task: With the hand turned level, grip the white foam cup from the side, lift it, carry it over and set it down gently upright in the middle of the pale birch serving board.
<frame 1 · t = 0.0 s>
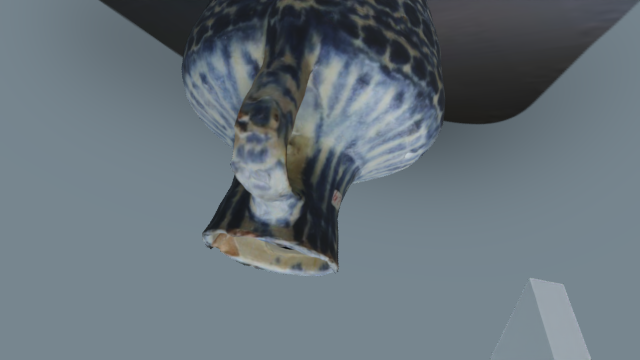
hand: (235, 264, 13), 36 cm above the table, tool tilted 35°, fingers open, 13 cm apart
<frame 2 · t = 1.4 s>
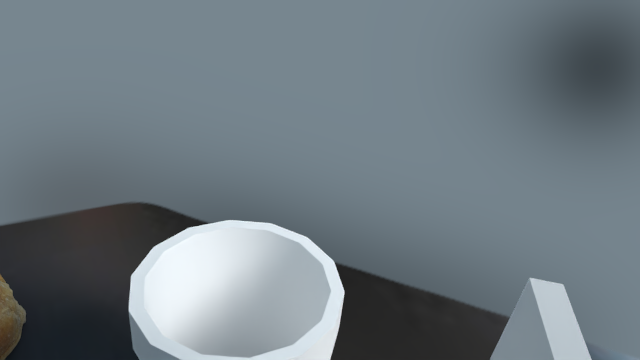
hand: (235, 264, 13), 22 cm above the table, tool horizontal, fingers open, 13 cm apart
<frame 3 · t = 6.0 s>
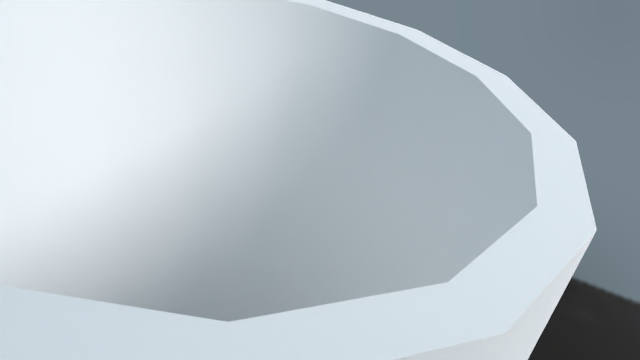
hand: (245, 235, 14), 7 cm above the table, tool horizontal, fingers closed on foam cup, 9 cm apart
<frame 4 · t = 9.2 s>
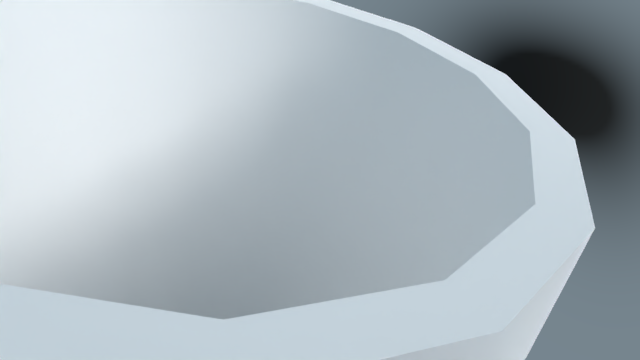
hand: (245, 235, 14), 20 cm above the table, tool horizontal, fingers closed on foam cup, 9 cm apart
when the fingers open (9 cm above the table, at t = 12.6 s): foam cup stays where it is, resting on serving board.
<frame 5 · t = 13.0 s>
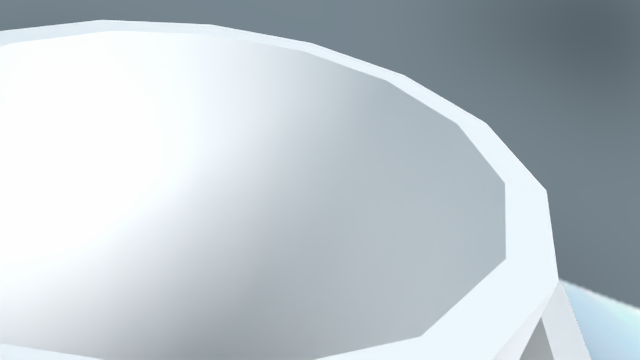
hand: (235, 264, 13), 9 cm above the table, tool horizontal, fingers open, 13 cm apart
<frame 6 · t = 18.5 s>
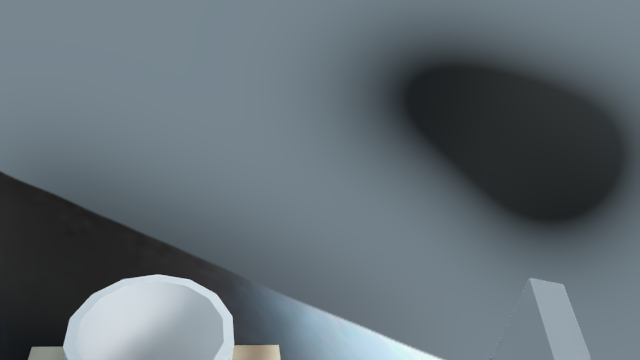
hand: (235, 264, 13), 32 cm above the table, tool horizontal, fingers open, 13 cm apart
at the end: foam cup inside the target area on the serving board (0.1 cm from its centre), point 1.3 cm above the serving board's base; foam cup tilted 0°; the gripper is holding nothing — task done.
